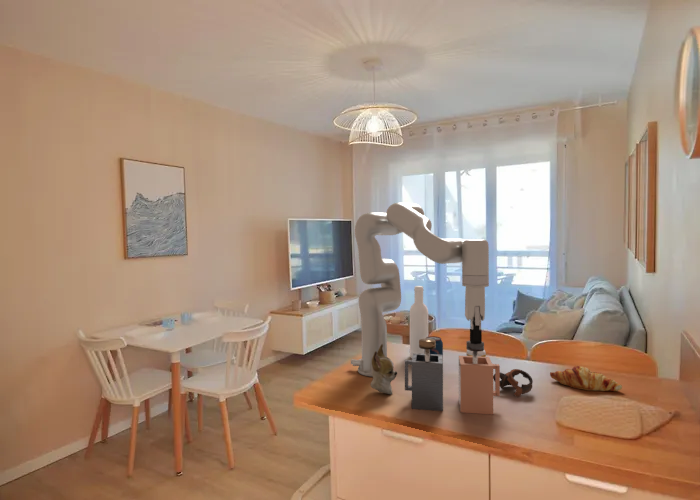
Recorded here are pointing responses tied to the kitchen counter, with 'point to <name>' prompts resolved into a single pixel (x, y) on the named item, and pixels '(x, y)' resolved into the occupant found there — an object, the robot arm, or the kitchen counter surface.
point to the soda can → (437, 346)
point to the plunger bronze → (427, 347)
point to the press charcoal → (426, 382)
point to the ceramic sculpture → (382, 372)
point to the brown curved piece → (509, 380)
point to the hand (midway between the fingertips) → (475, 342)
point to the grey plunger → (475, 349)
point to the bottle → (418, 322)
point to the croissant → (585, 379)
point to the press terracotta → (477, 385)
